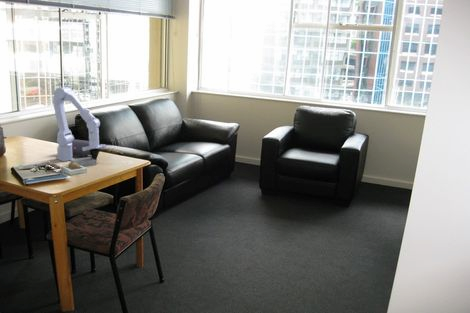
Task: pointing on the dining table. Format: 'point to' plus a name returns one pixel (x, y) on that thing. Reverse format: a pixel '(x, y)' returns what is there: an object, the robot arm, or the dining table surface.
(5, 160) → the dining table surface
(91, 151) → the robot arm
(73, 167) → the roller
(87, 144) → the bluetooth speaker
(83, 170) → the tray
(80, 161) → the slab
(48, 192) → the dining table surface
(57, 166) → the bar
